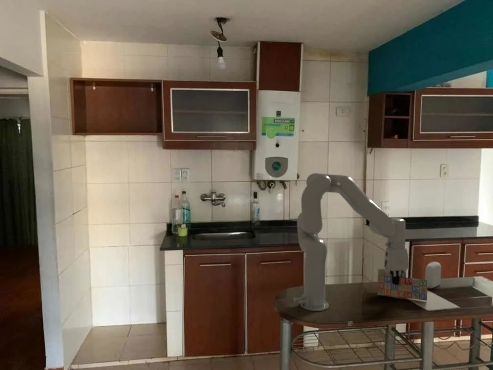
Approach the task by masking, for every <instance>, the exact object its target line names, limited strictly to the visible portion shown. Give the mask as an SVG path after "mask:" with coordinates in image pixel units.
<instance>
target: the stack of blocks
mask: <svg viewBox="0 0 493 370" xmlns="http://www.w3.org/2000/svg"><path fill="white" fill-rule="evenodd" d="M427 290H428V287H427V280H425V279H422V278H421V279H420V278H410V277H407V271H405V272H403V273H402V274H401V276H400V281H399V285H395V284H393V283H392V275H391V274H390V273H387V272H385V268H378V269H377V293H376V294H377V295H378V296H383V297H385V296H386V297H393V298H403V299H407V298H409V299H417V300H425V301H427Z"/></svg>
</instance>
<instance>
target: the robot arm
mask: <svg viewBox="0 0 493 370" xmlns="http://www.w3.org/2000/svg"><path fill="white" fill-rule="evenodd" d="M305 181H306V184H305V185H306V186H305V188H304V190H303V191H302V194H301V200H300V202H301V203H300V205H301V212H300V213H299V214H298V217H297V220H296V226H297V227H296V228H297V236H298V237H297V238H298V245H299V248H300V250H301V251H302V252H303V253H304V255H305V256H304V263H303V294H301V296H299V297H293V303H298V304H300V307H301V308H302V309H304V310H308V311H312V312H322V311H325V310H328V308H329V306H330V305H329V302H327V300H326V261H327V254H328V247H327V244H326V243H325V241H324V240H323V239H322V238H320V237H319V233H320V232H321V231H322V229H323V218H322V207H321V206H322V205H321V204H322V198H323V196H324V195H325V194H326V193H336V194H339V195H340V196H341V197H342V198H343V199H344V201H346V202H347V204H348V205H349V206H350V208H352V210H353V211H355V212H356V214H358V215H360V216H361V217H363V218H364V219H365V220H367V221H369V224H368V226H369V230H370V231H371V232H372V233H374V234H375V235H378V236H381V237H382V238H387V242H386V243H385V244H384V245H385V247H386V248H385V252H384V258H383V259H384V260H383V265H384V266H383V267H384V269H385V272H387V273H390V274H391V275H392V283H393V284H395V285H399V281H400V276H401V274H402V273H403V272H405V271H406V272H407V270H408V269H409V265H410V264H409V262H410V261H409V254H408V249H407V247H406V220H405V219H403V218H399V217H391V218H390V217H389V216H388V215H387V213H386V212H384V210H382V209H381V207H379V206H378V205H377V204H376V203H375V202H374V201H373V200H372V199H370V197H368V195H367V194H366V193H365V192H364V191H363V190H362V189H361V187H360V186H359V185H358V184H357V182H356V181H355V180H354V179H353V178H351V177H350V176H349V175H342V174H328V173H319V172H317V173H315V172H314V173H311V174H309V175H308V176H307V177H306V180H305Z"/></svg>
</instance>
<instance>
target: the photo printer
mask: <svg viewBox="0 0 493 370" xmlns="http://www.w3.org/2000/svg"><path fill="white" fill-rule="evenodd" d="M424 276H425V278H424V280H427V289H432V288H435V287H439V286H440V285H441V282H442V278H441V277H442V265H441V263H440V262H438V261H432V262H429V263H428V264H427V265H426V266H425V274H424Z"/></svg>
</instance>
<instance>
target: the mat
mask: <svg viewBox="0 0 493 370" xmlns="http://www.w3.org/2000/svg"><path fill="white" fill-rule="evenodd" d="M406 300H409V301H410V302H412V303H414V304H416V305H417V306H419V307H420V308H422V309H424V310H425V311H427V312H432V311H433V312H434V311H444V309H445V310H453V309H460V308H461V307H460V306H458V305H457V304H455V303H453V302H451V301H448V300H447V299H445V298H444V297H441V296H439V295H437V294H436V293H434V292H432V291H429V290H428V289H427V301H425V300H417V299H409V298H406Z"/></svg>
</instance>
